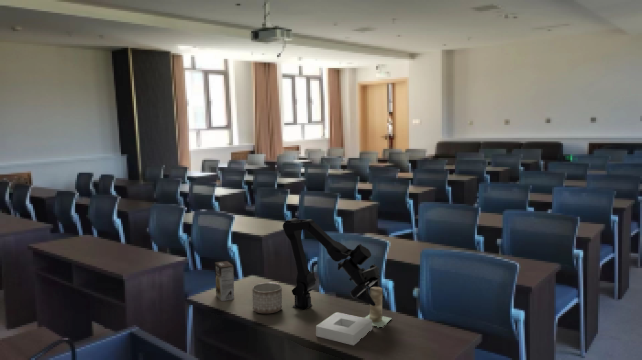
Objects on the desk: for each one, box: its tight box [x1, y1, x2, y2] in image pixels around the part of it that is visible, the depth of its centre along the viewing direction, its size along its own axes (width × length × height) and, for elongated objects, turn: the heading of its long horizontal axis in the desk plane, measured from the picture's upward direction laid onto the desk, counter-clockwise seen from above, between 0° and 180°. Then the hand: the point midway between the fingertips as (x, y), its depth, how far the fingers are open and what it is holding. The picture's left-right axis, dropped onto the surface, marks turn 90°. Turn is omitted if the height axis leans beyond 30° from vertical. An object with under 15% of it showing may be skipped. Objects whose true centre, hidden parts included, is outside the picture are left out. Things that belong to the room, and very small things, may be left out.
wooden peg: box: [369, 286, 383, 322], centre depth 199 cm, size 5×5×13 cm
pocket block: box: [315, 311, 373, 346], centre depth 189 cm, size 16×16×4 cm
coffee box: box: [214, 260, 235, 302], centre depth 228 cm, size 9×6×16 cm
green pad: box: [364, 313, 393, 328], centre depth 200 cm, size 10×10×1 cm
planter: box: [251, 281, 283, 314], centre depth 213 cm, size 13×13×10 cm
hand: (379, 301), depth 198 cm, fingers open, 9 cm apart
